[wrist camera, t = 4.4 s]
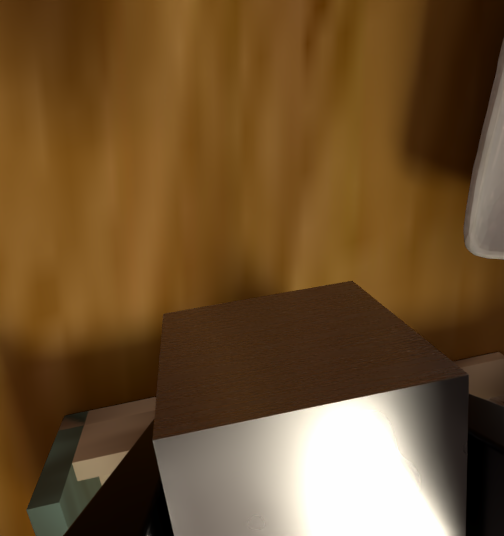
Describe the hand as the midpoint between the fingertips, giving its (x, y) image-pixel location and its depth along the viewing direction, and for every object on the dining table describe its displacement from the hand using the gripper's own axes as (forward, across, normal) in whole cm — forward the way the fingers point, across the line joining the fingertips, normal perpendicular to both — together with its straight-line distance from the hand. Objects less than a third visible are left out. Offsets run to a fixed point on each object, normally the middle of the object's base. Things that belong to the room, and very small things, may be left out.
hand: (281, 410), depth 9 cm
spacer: (+1, 0, 0) cm, 1 cm away
